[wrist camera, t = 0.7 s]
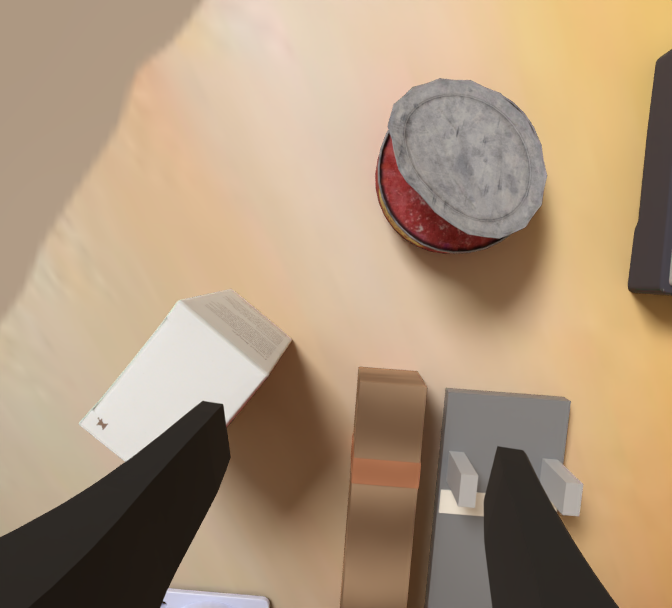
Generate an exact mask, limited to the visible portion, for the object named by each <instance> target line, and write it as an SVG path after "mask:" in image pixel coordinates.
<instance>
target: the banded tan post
mask: <svg viewBox="0 0 672 608" xmlns="http://www.w3.org/2000/svg"><path fill="white" fill-rule="evenodd" d="M426 394H427V386H426V385H425V383H424V381H423V380H422V378H421V376H420V375H419V373H418V371H407V370H394V369H381V368H367V367H359V369H358V382H357V394H356V407H355V420H354V433H353V436H352V449H351V471H350V484H349V497H348V509H347V522H346V535H345V548H344V560H343V573H342V586H341V599H340V608H407V598H408V588H409V577H410V566H411V555H412V545H413V534H414V523H415V512H416V502H417V491H418V489H419V480H420V469H421V462H420V459H421V448H422V437H423V427H424V416H425V405H426Z"/></svg>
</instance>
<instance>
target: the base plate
mask: <svg viewBox="0 0 672 608" xmlns="http://www.w3.org/2000/svg"><path fill="white" fill-rule="evenodd" d="M570 404H571V401H569V400H568V399H566V398H565V397H557V396H544V395H531V394H518V393H505V392H492V391H479V390H466V389H453V388H446V390H445V400H444V410H443V421H442V431H441V441H440V452H439V462H438V473H437V483H436V493H435V504H434V514H433V525H432V535H431V545H430V556H429V566H428V577H427V587H426V597H425V608H492V601H491V593H490V585H489V578H488V570H487V562H486V554H485V545H484V502H483V501H484V497H485V493H486V489H487V485H488V481H489V477H490V473H491V469H492V465H493V461H494V457H495V453H496V450H497V446H500V447H506V448H513V449H519V450H523V451H524V452H525V453H526V454H527V456H528V458H529V460H530V462H531V465H532V467H533V469H534V471H535V473H536V475H537V477H538V479H539V481H540V483H541V485H542V487H543V488H544V490H545V492H546V494H547V496H548V498H549V500H550V501H551V503H552V505H553V507H554V509H555V510H556V512H557V510H559V512H560V513H561V514H562V515H569V516H579V514H580V506H581V498H582V490H583V483H582V482H580V481H579V480H578V479H577V478H576V477H575V476H574V475H573V474H572V473H571V472H570V471H569V470H568V469H567V468H566V467H565V466H564V465H563V461H564V453H565V445H566V437H567V428H568V420H569V412H570Z"/></svg>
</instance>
